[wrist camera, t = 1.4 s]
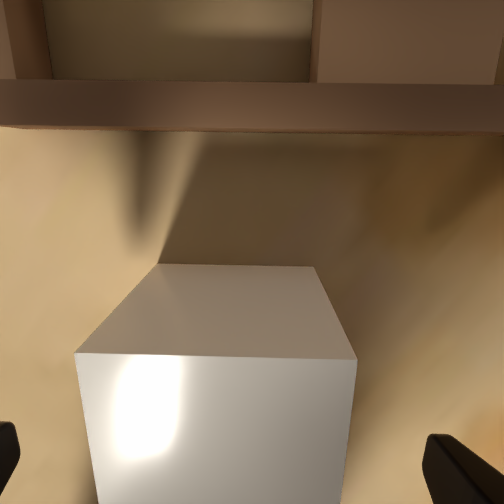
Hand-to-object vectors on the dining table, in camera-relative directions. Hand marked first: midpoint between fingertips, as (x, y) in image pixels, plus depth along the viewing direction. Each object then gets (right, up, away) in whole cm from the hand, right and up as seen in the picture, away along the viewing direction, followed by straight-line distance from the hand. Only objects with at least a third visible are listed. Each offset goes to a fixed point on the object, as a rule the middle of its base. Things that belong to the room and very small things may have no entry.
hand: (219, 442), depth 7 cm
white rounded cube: (0, +1, +4) cm, 4 cm away
